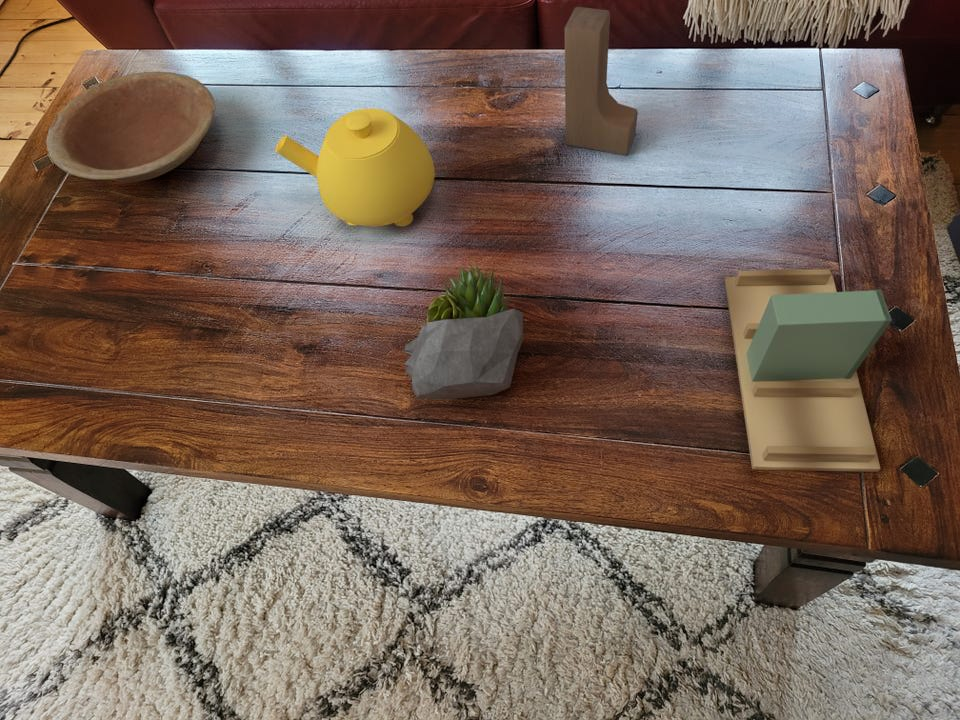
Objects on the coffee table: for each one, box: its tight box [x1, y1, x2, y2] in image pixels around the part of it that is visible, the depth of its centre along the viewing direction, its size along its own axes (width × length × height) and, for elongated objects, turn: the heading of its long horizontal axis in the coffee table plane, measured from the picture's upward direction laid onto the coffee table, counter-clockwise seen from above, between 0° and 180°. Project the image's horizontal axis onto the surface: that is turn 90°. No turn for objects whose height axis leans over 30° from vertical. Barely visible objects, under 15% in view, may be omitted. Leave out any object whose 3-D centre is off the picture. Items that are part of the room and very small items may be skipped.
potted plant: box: [403, 263, 524, 401], centre depth 75 cm, size 12×13×15 cm
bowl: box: [46, 71, 216, 183], centre depth 101 cm, size 24×24×8 cm
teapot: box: [274, 107, 436, 227], centre depth 89 cm, size 20×16×14 cm
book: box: [746, 289, 893, 381], centre depth 69 cm, size 10×4×11 cm, turn 89°
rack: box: [724, 268, 881, 473], centre depth 74 cm, size 12×24×3 cm, turn 176°
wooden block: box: [564, 6, 639, 156], centre depth 89 cm, size 9×4×18 cm, turn 69°
